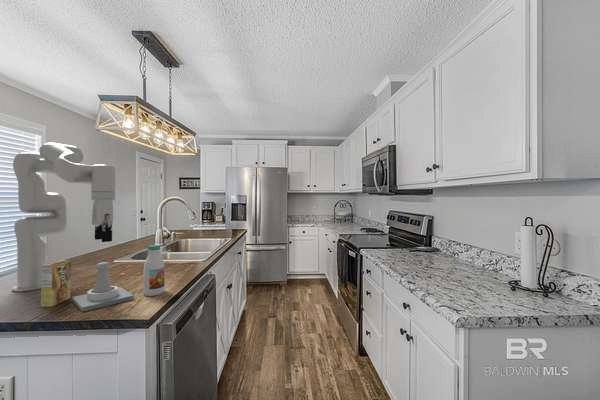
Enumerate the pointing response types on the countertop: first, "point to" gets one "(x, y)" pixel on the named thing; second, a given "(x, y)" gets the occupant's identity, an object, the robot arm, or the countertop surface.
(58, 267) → the candy box
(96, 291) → the grey ball-topped peg
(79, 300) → the collar plate
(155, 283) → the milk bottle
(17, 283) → the robot arm
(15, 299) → the countertop surface
